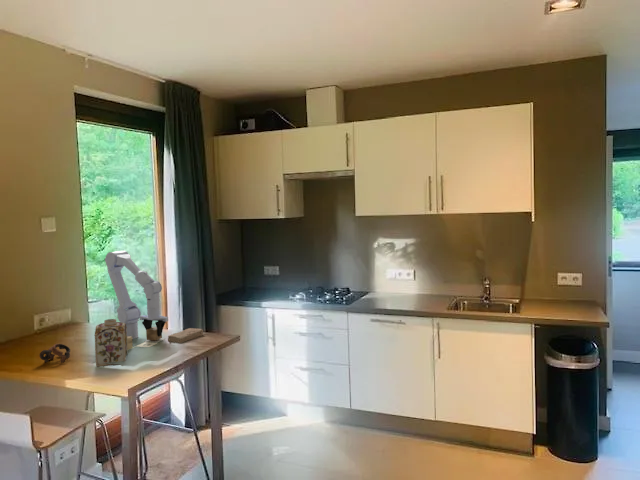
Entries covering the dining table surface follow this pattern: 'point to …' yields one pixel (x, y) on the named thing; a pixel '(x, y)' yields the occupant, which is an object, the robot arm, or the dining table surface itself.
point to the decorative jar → (110, 342)
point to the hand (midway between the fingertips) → (154, 335)
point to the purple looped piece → (55, 353)
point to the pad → (154, 341)
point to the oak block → (129, 342)
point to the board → (144, 345)
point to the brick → (185, 335)
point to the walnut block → (152, 334)
